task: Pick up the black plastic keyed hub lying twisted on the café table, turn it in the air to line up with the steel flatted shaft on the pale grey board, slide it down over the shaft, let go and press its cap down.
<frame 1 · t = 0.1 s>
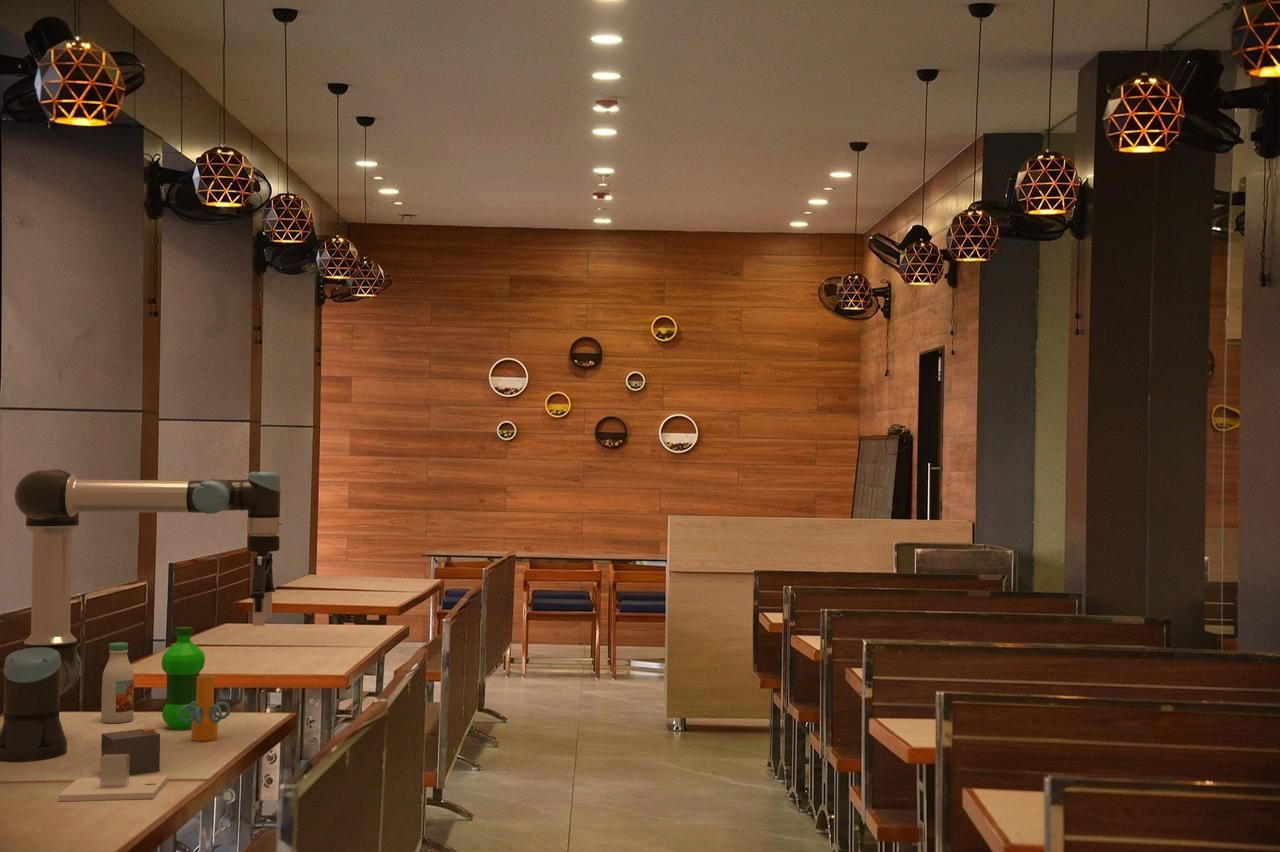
hand: (262, 622, 326), 28 cm above the table, fingers open, 13 cm apart
orange tube with rings: (204, 740, 323), on the table
plastic bottle: (182, 728, 337), on the table
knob: (130, 770, 290), on the table
milk bottle: (117, 721, 344), on the table
board: (114, 791, 273), on the table
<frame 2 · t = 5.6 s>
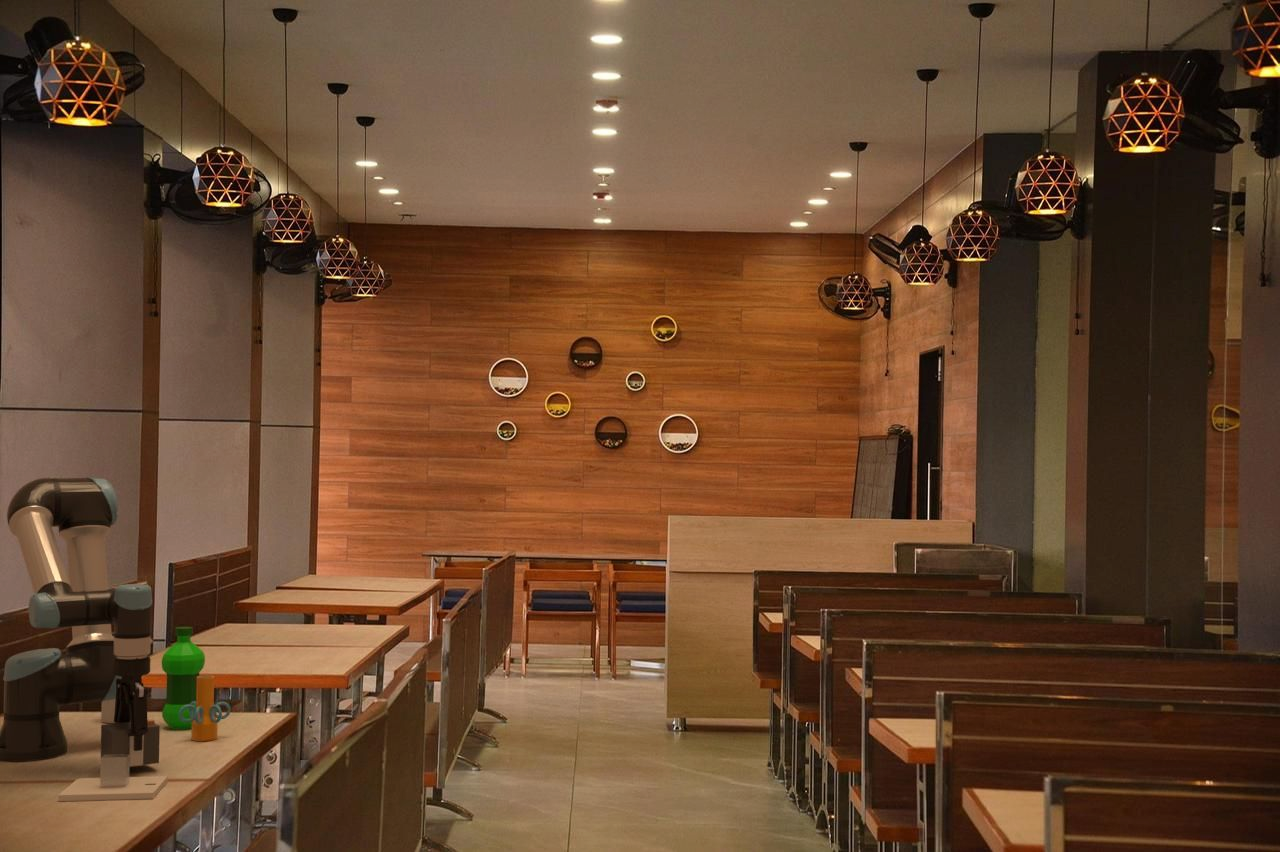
hand: (129, 761, 291), 2 cm above the table, fingers closed on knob, 8 cm apart
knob: (129, 762, 291), point 2 cm above the table, touching gripper
everything else where it was.
when the fingers open (2 cm above the table, at t = 11.5 s): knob stays where it is, resting on board.
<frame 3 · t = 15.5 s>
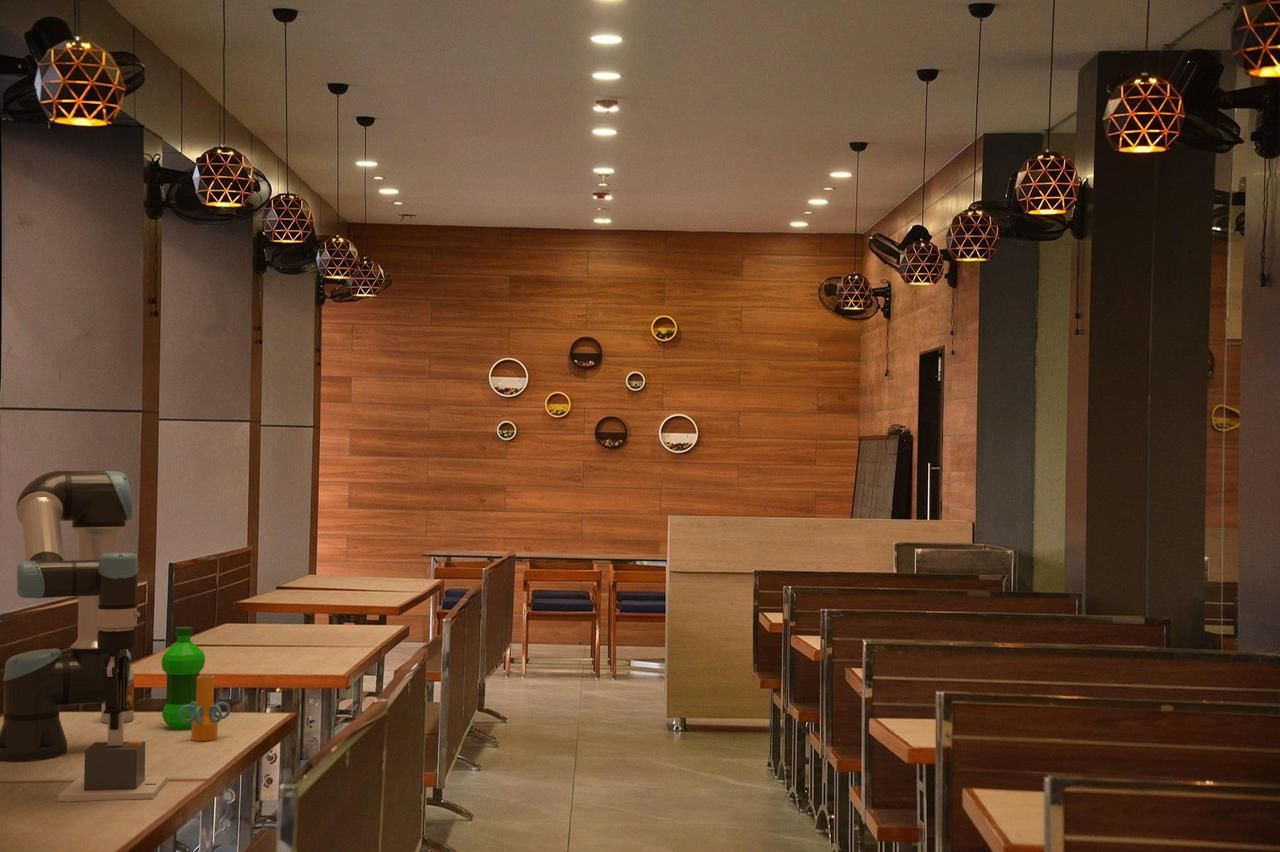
hand: (115, 744, 273), 9 cm above the table, fingers closed
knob: (114, 785, 273), point 1 cm above the table, touching board, gripper
everything else where it was.
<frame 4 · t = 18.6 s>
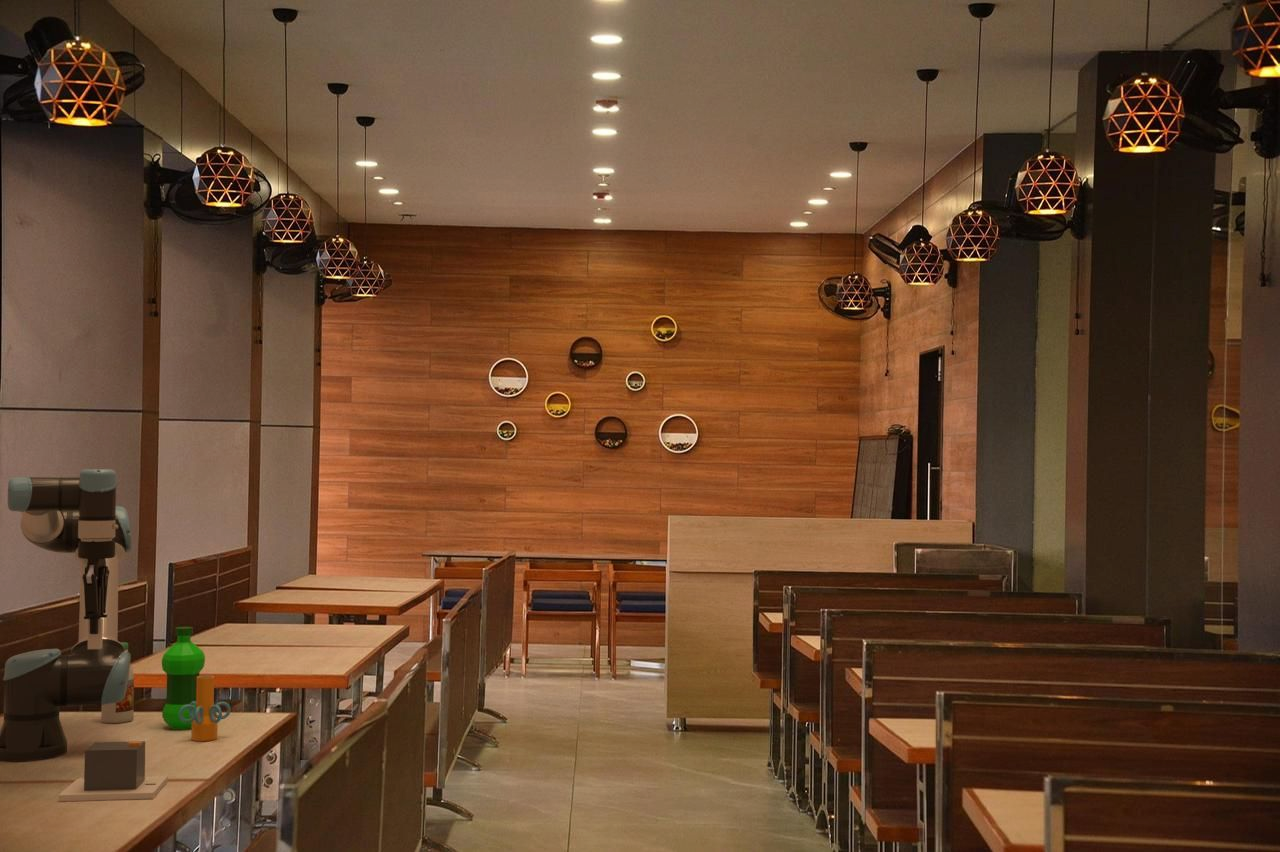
hand: (95, 648, 291), 26 cm above the table, fingers closed
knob: (114, 785, 273), point 1 cm above the table, touching board
everything else where it was.
at the end: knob 0.0 cm off-centre on the board, point 1.2 cm above the board's base; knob tilted 0°; the gripper is holding nothing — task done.
